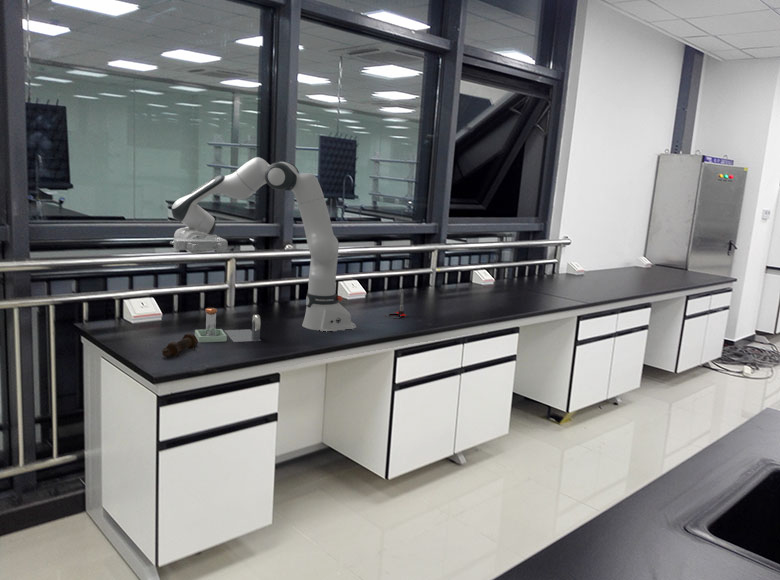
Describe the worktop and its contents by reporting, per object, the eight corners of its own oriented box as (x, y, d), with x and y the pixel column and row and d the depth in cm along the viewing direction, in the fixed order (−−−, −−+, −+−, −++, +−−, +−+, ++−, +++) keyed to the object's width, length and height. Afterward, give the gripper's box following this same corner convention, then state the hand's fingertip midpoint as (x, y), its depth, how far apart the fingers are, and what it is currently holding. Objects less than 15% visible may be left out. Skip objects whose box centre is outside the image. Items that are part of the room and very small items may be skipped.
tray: (221, 336, 233) (221, 328, 232) (226, 343, 224) (226, 335, 224) (194, 337, 228) (194, 329, 228) (199, 345, 220) (199, 336, 220)
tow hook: (391, 320, 284) (408, 318, 289) (393, 292, 281) (409, 290, 287) (381, 316, 291) (397, 314, 296) (382, 289, 288) (398, 287, 293)
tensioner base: (250, 331, 243) (251, 306, 241) (260, 343, 229) (262, 316, 227) (224, 332, 238) (225, 307, 236) (233, 344, 224) (234, 317, 222)
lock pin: (214, 336, 229) (215, 307, 227) (217, 339, 225) (218, 310, 223) (203, 337, 227) (204, 308, 225) (205, 340, 224) (206, 310, 222)
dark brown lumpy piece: (163, 363, 203) (189, 350, 218) (175, 358, 202) (200, 345, 216) (155, 347, 203) (181, 335, 217) (167, 342, 201) (193, 330, 216)
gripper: (168, 233, 240) (180, 238, 229) (219, 234, 252) (233, 239, 241) (168, 250, 241) (179, 255, 230) (219, 249, 253) (232, 255, 243)
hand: (207, 247), depth 236 cm, fingers open, 8 cm apart
